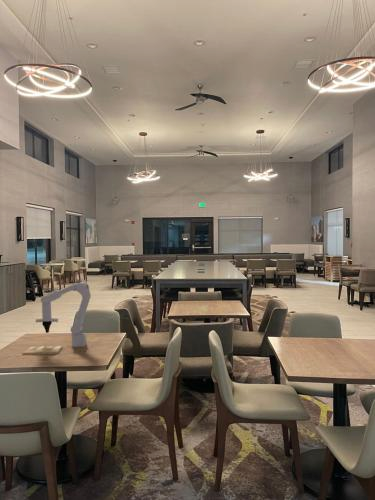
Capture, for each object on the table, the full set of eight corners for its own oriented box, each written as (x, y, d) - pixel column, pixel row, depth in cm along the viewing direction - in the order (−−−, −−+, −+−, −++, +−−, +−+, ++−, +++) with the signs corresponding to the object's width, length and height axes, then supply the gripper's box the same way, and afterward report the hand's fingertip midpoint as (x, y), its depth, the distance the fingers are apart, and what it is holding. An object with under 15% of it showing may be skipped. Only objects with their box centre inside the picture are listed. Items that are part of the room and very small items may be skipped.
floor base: (63, 348, 271) (63, 346, 271) (57, 354, 257) (57, 352, 257) (30, 349, 271) (30, 346, 271) (22, 355, 256) (22, 353, 256)
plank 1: (45, 348, 270) (45, 346, 270) (42, 351, 264) (42, 349, 264) (30, 348, 270) (30, 346, 269) (27, 351, 264) (27, 349, 263)
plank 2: (62, 347, 270) (62, 346, 270) (59, 350, 264) (59, 348, 264) (47, 348, 270) (47, 346, 270) (44, 351, 264) (44, 349, 264)
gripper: (59, 311, 279) (59, 330, 279) (37, 311, 278) (38, 331, 279) (56, 313, 272) (56, 333, 272) (34, 313, 271) (35, 333, 272)
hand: (47, 332), depth 275 cm, fingers closed
